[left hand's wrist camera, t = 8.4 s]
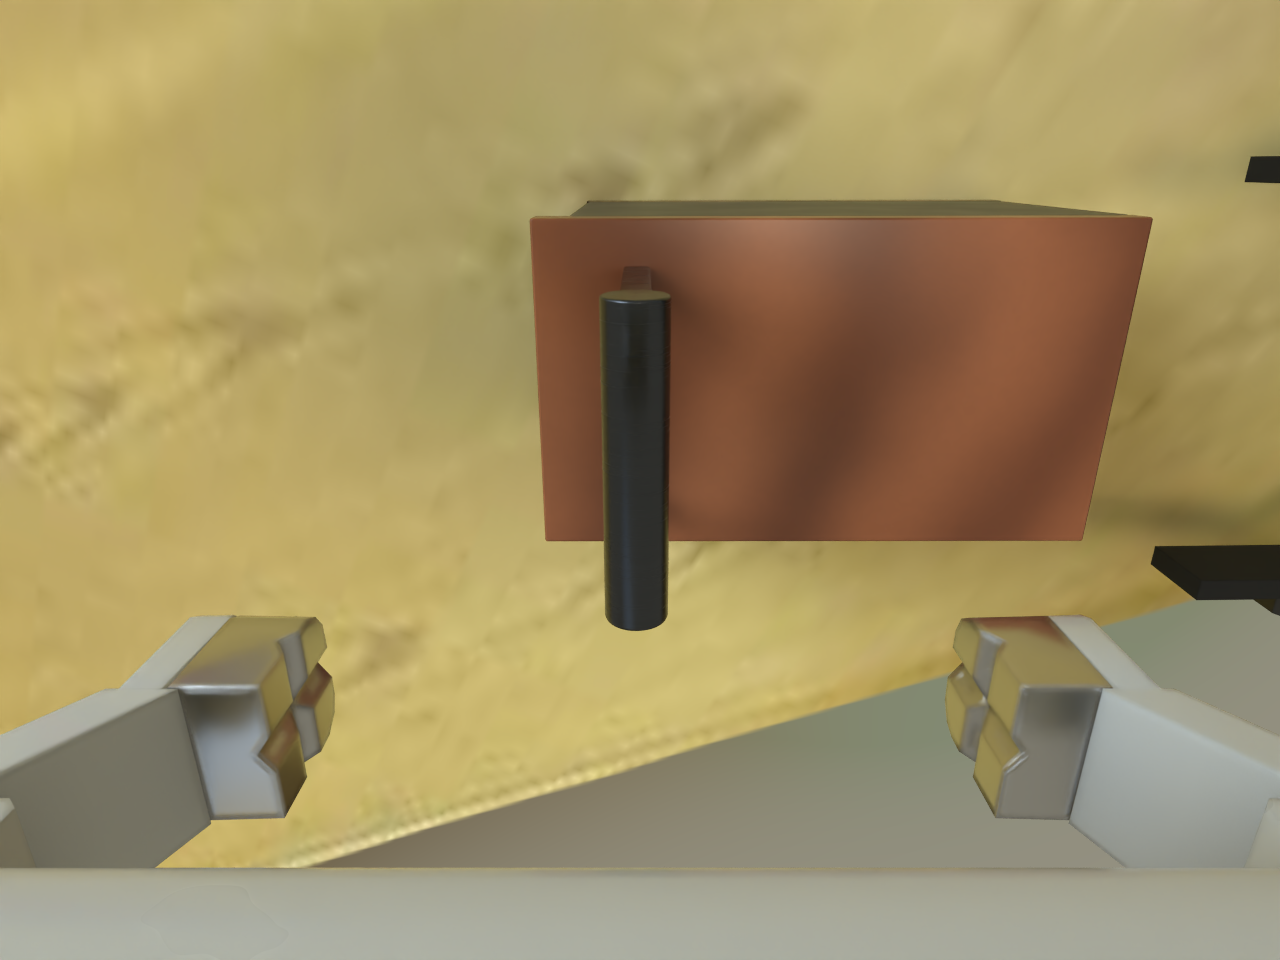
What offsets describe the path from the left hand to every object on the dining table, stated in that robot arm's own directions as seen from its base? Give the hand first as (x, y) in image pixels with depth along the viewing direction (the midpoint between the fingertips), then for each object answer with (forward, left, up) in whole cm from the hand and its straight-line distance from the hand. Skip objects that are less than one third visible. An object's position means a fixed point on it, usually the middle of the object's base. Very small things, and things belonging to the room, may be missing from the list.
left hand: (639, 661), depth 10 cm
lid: (+4, +3, -14) cm, 15 cm away
